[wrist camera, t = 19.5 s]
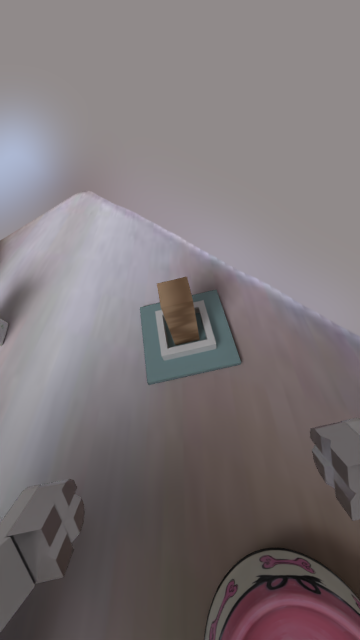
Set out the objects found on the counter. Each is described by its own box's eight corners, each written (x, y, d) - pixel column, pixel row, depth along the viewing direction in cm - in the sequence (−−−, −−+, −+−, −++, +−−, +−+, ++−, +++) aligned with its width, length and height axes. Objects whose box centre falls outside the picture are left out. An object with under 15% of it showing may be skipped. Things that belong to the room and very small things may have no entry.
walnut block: (175, 345, 42) (160, 307, 32) (171, 324, 44) (157, 283, 34) (199, 339, 42) (192, 300, 32) (194, 319, 44) (186, 276, 34)
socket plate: (149, 384, 40) (144, 379, 37) (141, 310, 49) (136, 301, 46) (240, 364, 39) (241, 357, 37) (216, 292, 48) (216, 283, 46)
